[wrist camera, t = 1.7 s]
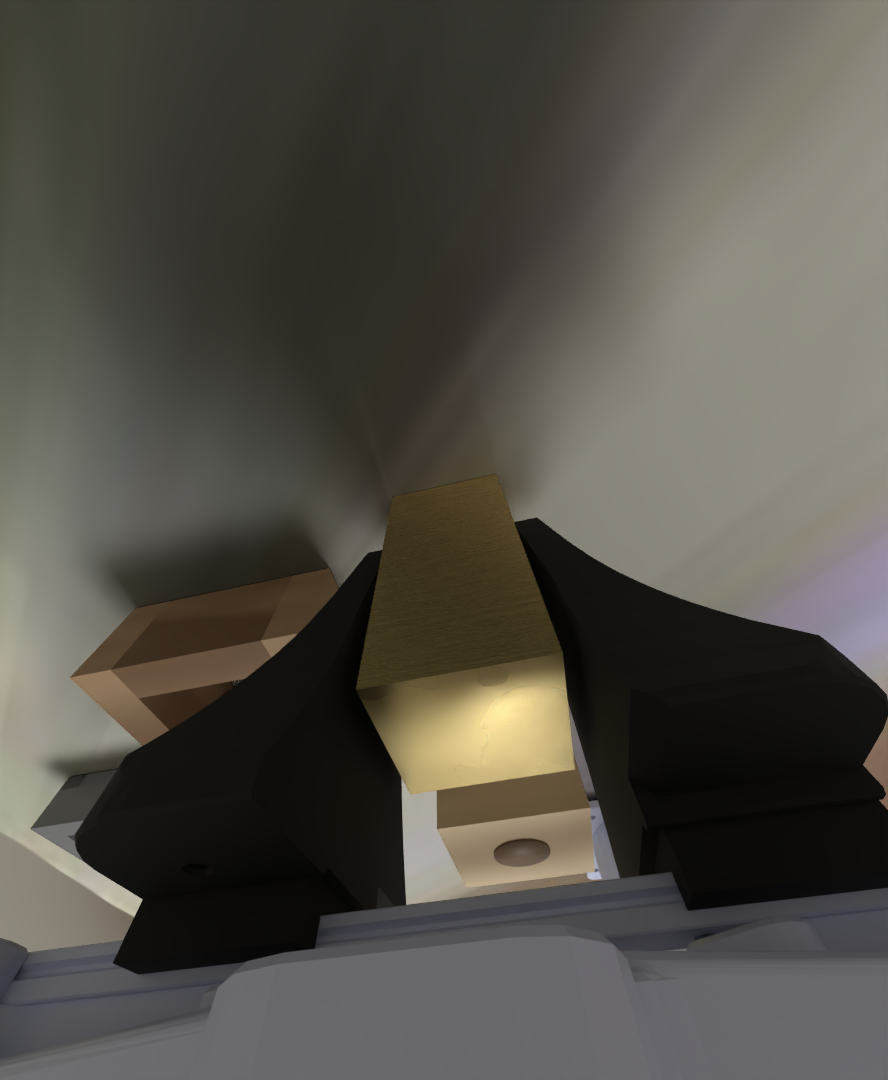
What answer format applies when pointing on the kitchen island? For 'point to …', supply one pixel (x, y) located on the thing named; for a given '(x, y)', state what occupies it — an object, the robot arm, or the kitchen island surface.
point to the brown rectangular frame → (196, 649)
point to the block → (517, 828)
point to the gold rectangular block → (462, 646)
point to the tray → (71, 809)
